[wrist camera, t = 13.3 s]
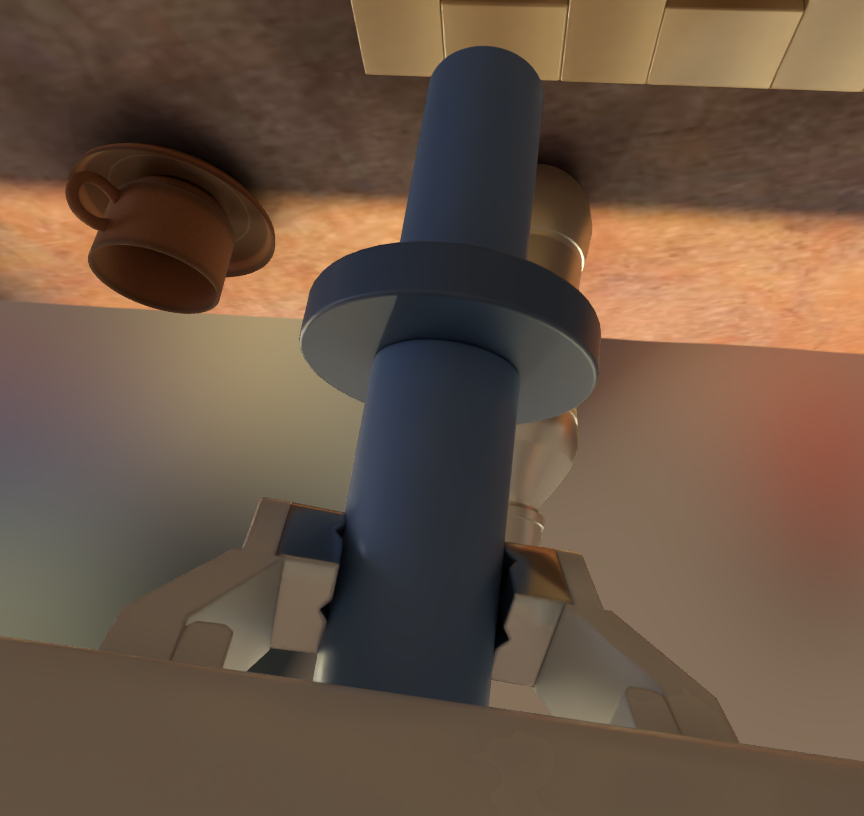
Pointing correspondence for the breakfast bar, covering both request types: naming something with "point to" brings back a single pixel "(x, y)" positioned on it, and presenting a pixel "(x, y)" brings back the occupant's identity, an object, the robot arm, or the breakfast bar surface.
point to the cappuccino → (167, 225)
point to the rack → (629, 39)
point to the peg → (444, 387)
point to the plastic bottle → (558, 436)
